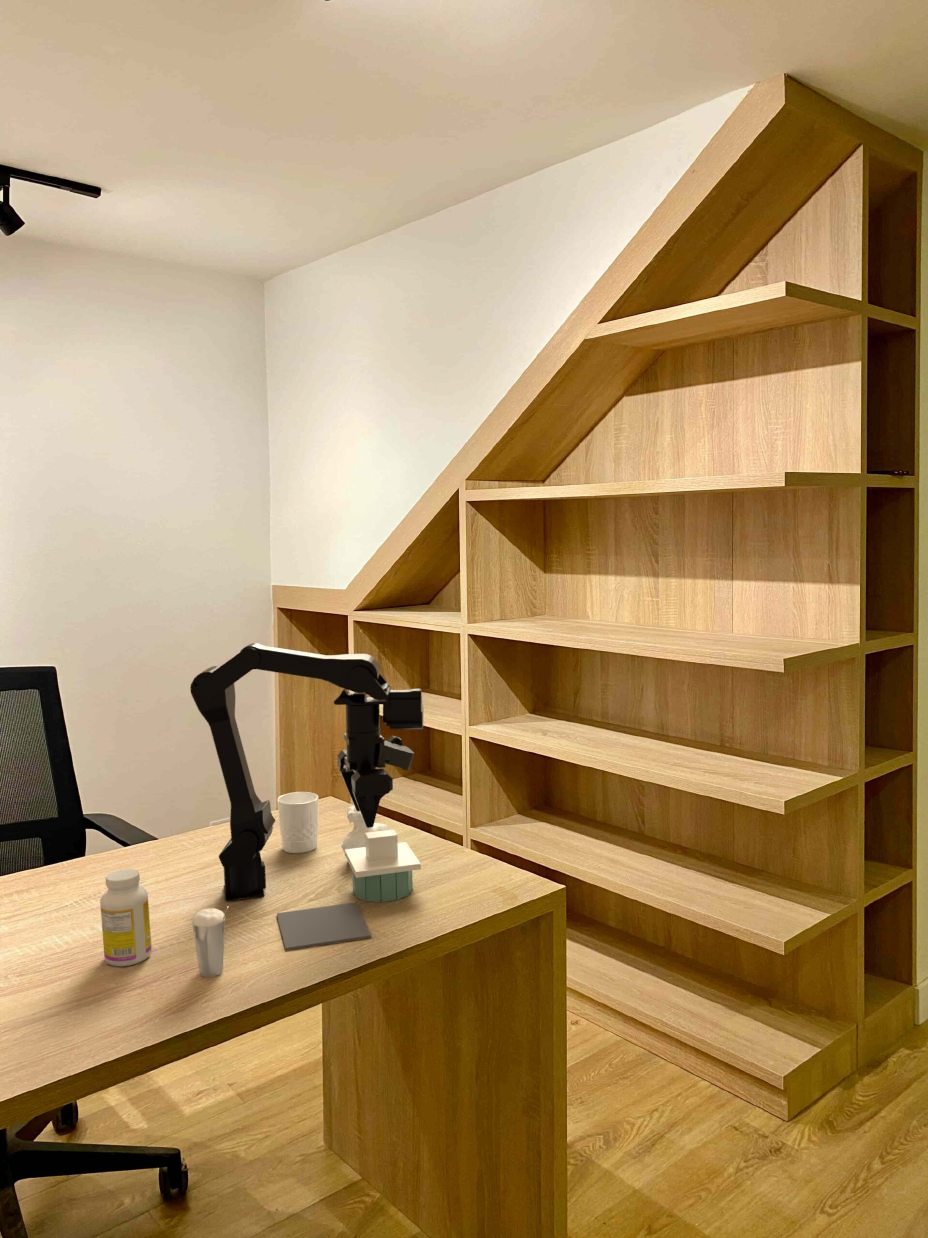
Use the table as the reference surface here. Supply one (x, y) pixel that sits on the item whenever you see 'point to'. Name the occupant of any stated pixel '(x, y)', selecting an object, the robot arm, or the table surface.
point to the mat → (322, 926)
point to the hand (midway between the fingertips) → (364, 818)
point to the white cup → (298, 821)
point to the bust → (358, 830)
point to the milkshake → (209, 941)
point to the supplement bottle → (125, 919)
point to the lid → (381, 855)
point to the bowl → (383, 886)
